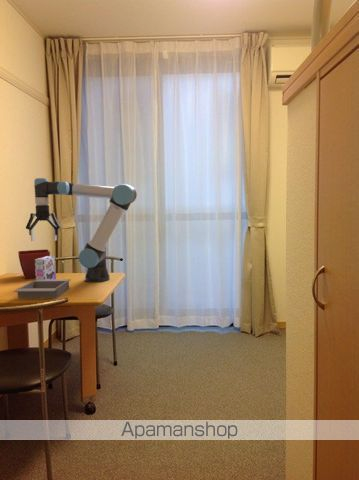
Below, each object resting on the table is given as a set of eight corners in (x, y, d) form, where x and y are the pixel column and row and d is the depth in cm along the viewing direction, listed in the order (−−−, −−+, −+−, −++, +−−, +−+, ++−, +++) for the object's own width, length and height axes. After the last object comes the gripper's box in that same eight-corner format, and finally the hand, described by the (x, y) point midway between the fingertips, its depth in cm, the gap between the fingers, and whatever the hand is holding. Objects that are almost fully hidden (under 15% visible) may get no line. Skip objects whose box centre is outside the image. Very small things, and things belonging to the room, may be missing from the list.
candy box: (44, 287, 218) (43, 259, 216) (35, 286, 219) (34, 259, 217) (56, 282, 231) (55, 255, 230) (47, 281, 232) (46, 255, 231)
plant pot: (19, 275, 255) (18, 250, 254) (48, 272, 263) (47, 249, 261) (19, 280, 238) (18, 254, 236) (51, 277, 246) (50, 252, 244)
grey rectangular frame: (71, 287, 215) (70, 279, 215) (54, 300, 188) (53, 290, 188) (36, 287, 216) (35, 279, 215) (14, 300, 189) (13, 290, 188)
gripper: (65, 204, 224) (66, 239, 226) (24, 205, 224) (26, 240, 226) (61, 204, 216) (62, 241, 218) (18, 205, 217) (20, 241, 219)
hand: (44, 240), depth 222 cm, fingers open, 13 cm apart
